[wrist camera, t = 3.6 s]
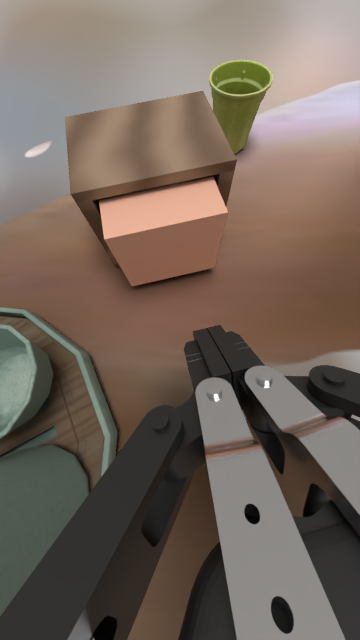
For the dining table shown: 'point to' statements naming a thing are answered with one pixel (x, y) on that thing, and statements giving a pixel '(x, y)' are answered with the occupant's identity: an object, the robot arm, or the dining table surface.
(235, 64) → the plant pot
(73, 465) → the tea set
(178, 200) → the salmon pink block
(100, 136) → the brown box with drawer
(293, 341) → the dining table surface
